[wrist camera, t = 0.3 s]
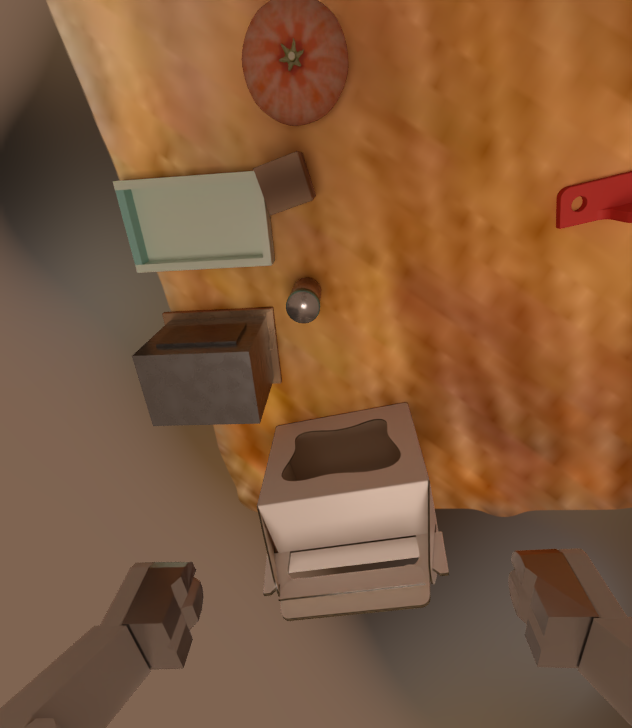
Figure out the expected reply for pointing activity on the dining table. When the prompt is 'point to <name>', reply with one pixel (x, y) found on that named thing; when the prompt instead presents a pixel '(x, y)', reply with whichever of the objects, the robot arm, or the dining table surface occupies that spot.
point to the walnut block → (285, 182)
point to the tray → (196, 222)
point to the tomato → (295, 60)
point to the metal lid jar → (304, 300)
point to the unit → (210, 367)
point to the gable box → (349, 515)
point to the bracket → (596, 201)
